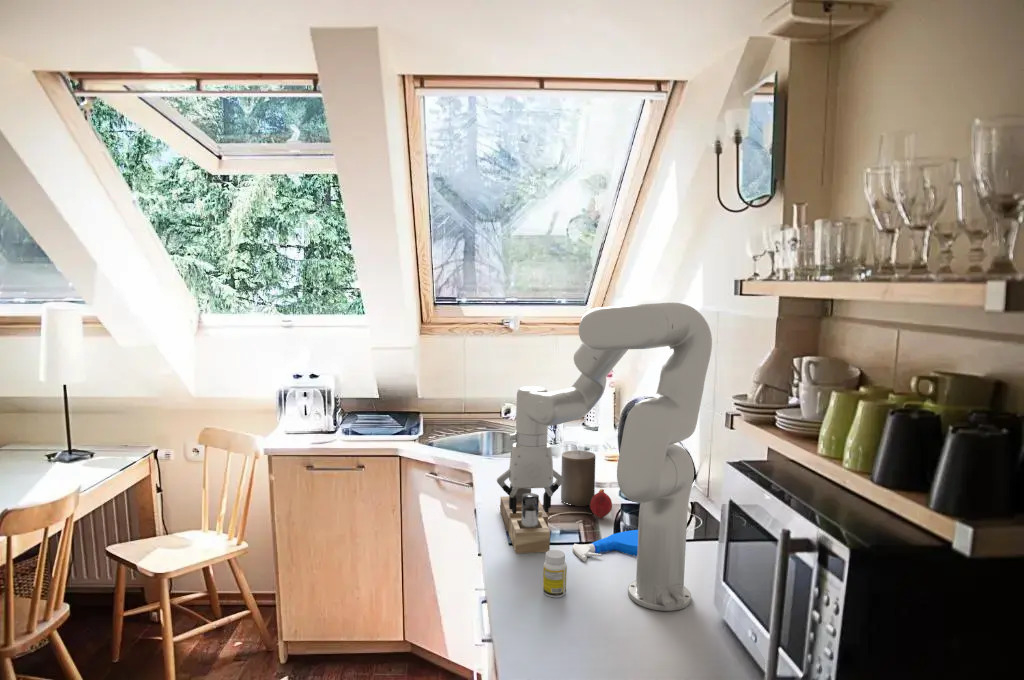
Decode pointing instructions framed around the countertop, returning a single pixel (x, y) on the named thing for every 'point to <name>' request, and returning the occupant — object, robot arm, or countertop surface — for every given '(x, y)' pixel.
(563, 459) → the pillar candle
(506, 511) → the socket block
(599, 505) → the onion
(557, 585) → the supplement bottle
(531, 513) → the capped metal cylinder
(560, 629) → the countertop surface
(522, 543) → the frame
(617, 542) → the spray bottle
